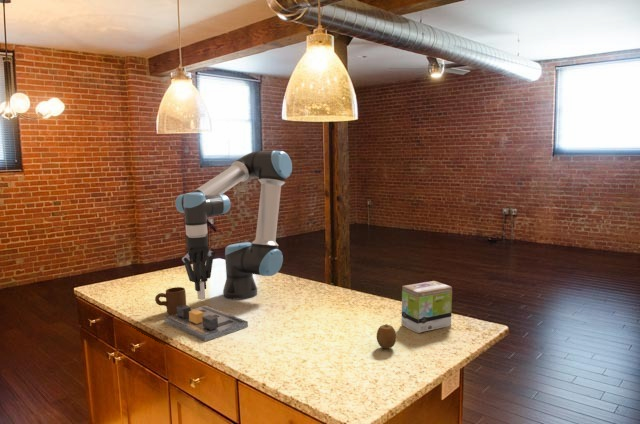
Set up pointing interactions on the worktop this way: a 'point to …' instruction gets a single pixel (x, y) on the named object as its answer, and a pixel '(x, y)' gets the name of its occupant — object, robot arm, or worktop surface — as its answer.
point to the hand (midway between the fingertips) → (201, 298)
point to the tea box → (426, 306)
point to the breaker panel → (211, 332)
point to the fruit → (386, 336)
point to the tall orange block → (196, 316)
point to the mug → (172, 299)
